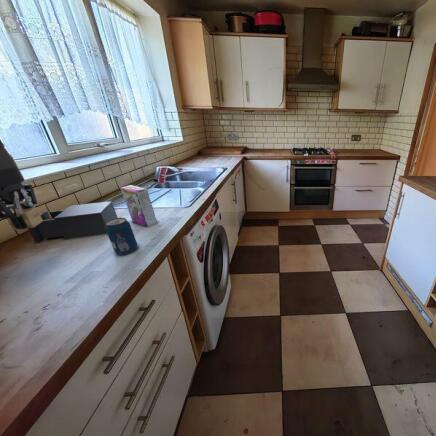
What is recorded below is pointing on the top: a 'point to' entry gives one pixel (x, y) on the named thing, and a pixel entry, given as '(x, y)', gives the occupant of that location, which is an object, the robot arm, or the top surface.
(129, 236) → the soda can
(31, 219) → the block
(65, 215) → the low dark rectangular box
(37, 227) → the dark grey drawer
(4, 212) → the robot arm
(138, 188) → the candy bar box
